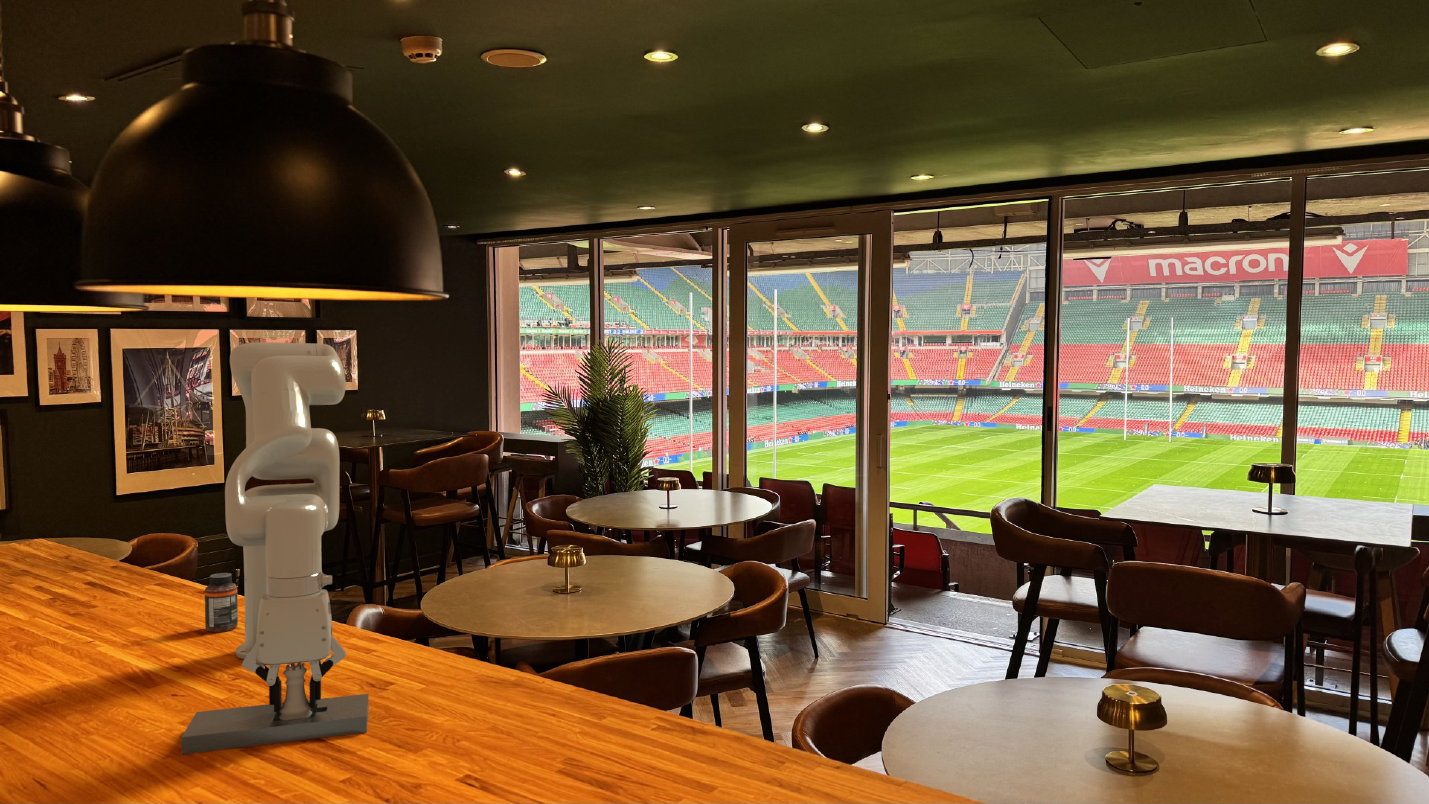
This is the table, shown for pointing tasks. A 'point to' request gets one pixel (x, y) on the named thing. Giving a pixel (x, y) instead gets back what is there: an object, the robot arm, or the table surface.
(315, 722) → the pocket plate
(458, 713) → the table surface
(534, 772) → the table surface
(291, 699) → the rook chess piece
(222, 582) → the supplement bottle
